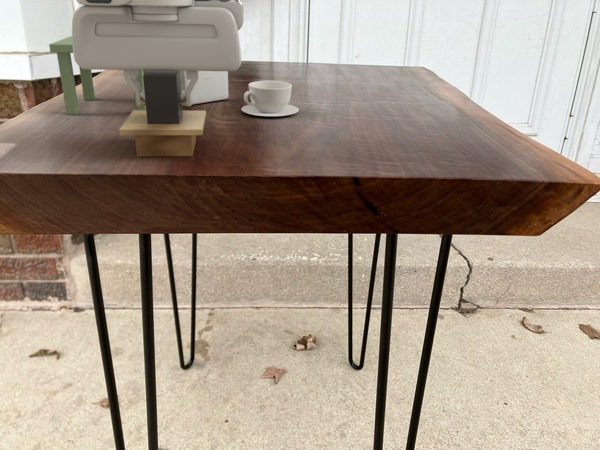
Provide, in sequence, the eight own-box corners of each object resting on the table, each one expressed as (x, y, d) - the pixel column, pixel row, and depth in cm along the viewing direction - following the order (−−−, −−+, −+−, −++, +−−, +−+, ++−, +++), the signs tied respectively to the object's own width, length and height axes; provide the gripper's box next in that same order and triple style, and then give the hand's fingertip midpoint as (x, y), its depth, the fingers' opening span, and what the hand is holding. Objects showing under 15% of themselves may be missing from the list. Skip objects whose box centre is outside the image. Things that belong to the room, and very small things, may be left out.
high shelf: (60, 115, 85) (48, 44, 80) (83, 97, 98) (74, 34, 93) (149, 115, 87) (143, 45, 82) (160, 97, 99) (155, 36, 95)
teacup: (278, 103, 98) (278, 77, 96) (310, 114, 91) (311, 87, 89) (230, 109, 93) (229, 82, 91) (260, 121, 85) (260, 92, 83)
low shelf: (122, 160, 66) (118, 129, 64) (136, 138, 75) (133, 110, 73) (203, 160, 67) (202, 129, 65) (207, 138, 76) (206, 110, 74)
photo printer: (184, 107, 93) (179, 33, 88) (172, 103, 96) (166, 30, 90) (232, 100, 99) (230, 30, 94) (219, 96, 102) (216, 28, 97)
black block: (147, 124, 67) (142, 75, 64) (152, 114, 71) (148, 68, 69) (179, 124, 67) (176, 76, 65) (182, 114, 72) (180, 69, 69)
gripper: (242, -9, 67) (244, 100, 73) (74, -15, 64) (90, 99, 70) (243, -8, 61) (245, 111, 67) (58, -13, 59) (77, 110, 65)
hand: (164, 105), depth 69 cm, fingers closed on black block, 4 cm apart
